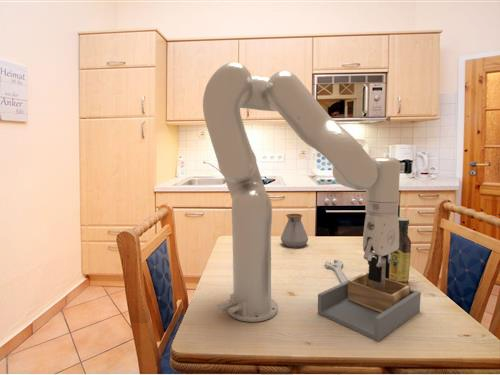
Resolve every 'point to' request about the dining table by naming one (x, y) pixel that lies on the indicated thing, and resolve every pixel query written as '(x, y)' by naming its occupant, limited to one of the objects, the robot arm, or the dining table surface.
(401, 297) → the crate
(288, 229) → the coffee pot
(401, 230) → the sauce bottle
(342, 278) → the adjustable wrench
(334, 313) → the bay
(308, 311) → the dining table surface
